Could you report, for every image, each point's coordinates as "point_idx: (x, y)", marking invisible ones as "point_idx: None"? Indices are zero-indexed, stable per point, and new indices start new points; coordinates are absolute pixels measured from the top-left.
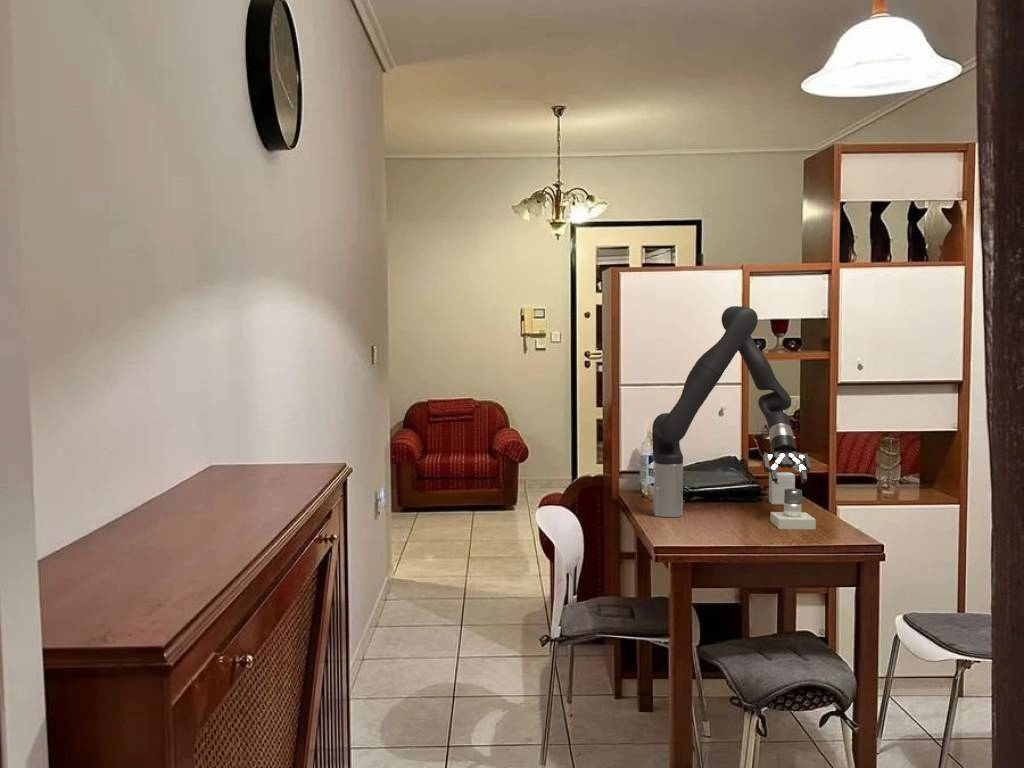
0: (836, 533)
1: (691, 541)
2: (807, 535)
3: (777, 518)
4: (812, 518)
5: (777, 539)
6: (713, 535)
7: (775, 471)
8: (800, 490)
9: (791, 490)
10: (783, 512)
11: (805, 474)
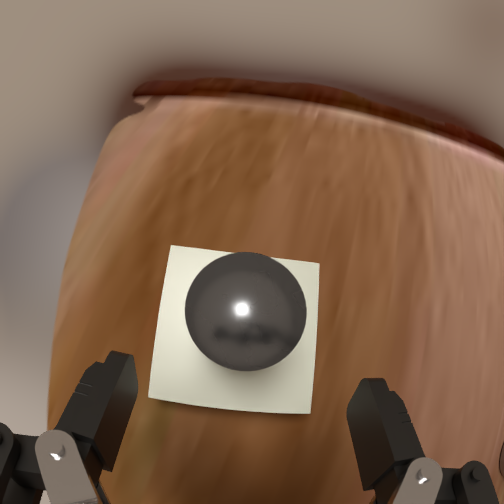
0: (138, 199)
1: (490, 180)
2: (243, 182)
3: (318, 288)
4: (174, 267)
5: (342, 155)
6: (470, 218)
7: (398, 441)
8: (198, 291)
9: (264, 293)
10: (254, 404)
11: (79, 399)
